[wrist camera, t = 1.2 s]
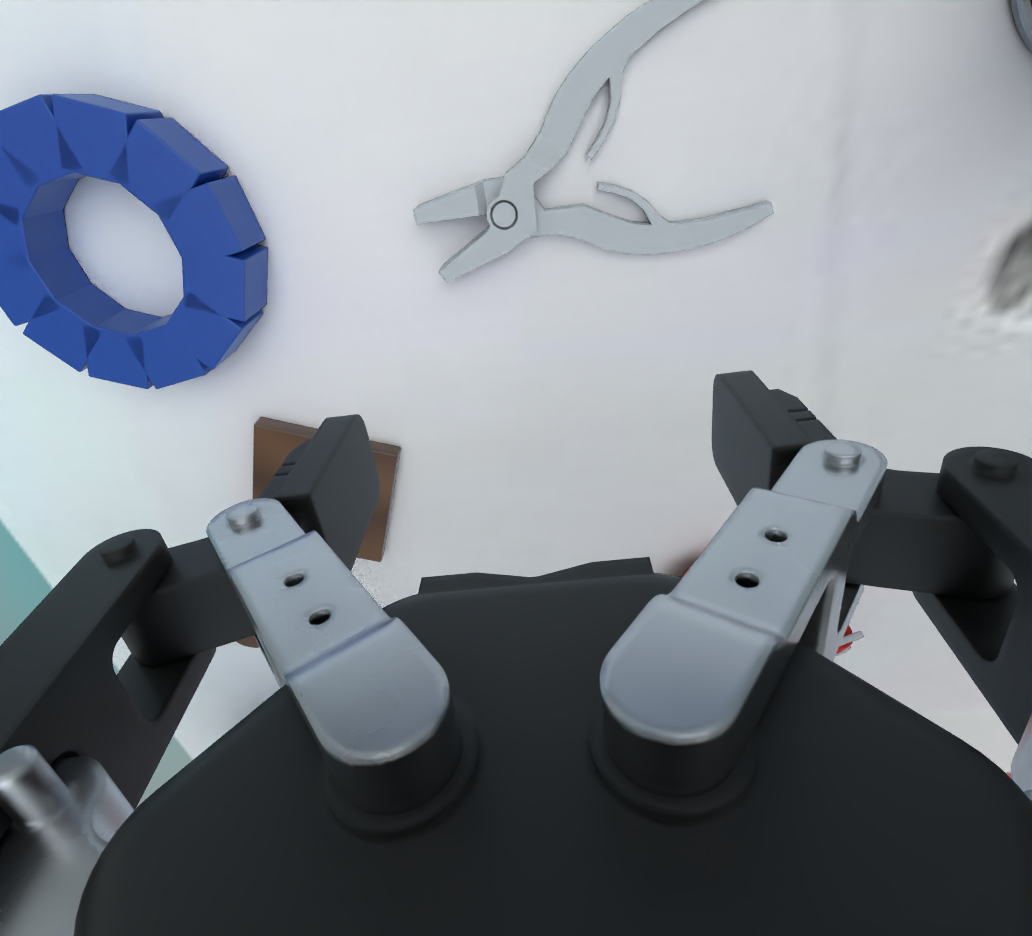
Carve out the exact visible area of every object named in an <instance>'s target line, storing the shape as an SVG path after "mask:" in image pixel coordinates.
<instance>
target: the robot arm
mask: <svg viewBox="0 0 1032 936" xmlns="http://www.w3.org/2000/svg"><path fill="white" fill-rule="evenodd" d="M1011 7H1012V12H1013V16H1014V21H1015V23H1016V26H1017V29H1018V32H1019V33H1020V35H1021V37H1022V39H1023V41H1024V43H1025V44H1026V45H1027V47H1028V48H1029V50H1030V51H1031V52H1032V0H1011ZM712 450H713V457H714V461H715V464H716V466H717V468H718V470H719V472H720V474H721V476H722V478H723V479H724V481H725V483H726V485H727V487H728V489H729V491H730V493H731V494H732V496H733V498H734V500H735V502H736V504H737V506H738V507H737V508H736V509H735V511H734V512H733V513H732V514H731V516H730V517H729V518H728V520H727V521H726V522H725V523H724V525H723V526H722V527H721V529H720V530H719V531H718V533H717V534H716V535H715V536H714V538H713V539H712V540H711V542H710V543H709V544H708V545H707V547H706V548H705V549H704V551H703V552H702V553H701V555H700V556H699V557H698V558H697V560H696V561H695V562H694V564H693V565H692V566H691V567H690V569H689V570H688V571H687V573H686V574H685V575H684V577H683V578H681V577H677V576H672V575H666V574H660V573H653V569H652V565H651V562H650V558H649V557H644V558H633V559H622V560H611V561H600V562H591V563H587V564H583V565H580V566H576V567H572V568H568V569H564V570H561V571H557V572H553V573H549V574H546V575H542V576H537V577H521V576H510V575H498V574H486V573H467V574H456V575H445V576H434V577H423V578H422V579H421V583H420V588H419V592H418V594H416V595H412V596H409V597H406V598H404V599H401V600H398V601H396V602H394V603H392V604H390V605H387V606H386V607H384V608H381V607H380V606H379V605H378V603H377V602H376V601H375V600H374V599H373V598H372V596H371V595H370V594H369V593H368V592H367V591H366V589H365V588H364V587H363V586H362V585H361V583H360V582H359V581H358V580H357V579H356V578H355V576H354V575H353V574H352V573H351V570H352V567H353V564H354V562H355V559H356V557H357V554H358V552H359V549H360V547H361V544H362V541H363V539H364V536H365V534H366V531H367V529H368V526H369V524H370V521H371V518H372V516H373V513H374V511H375V508H376V506H377V503H378V501H379V497H380V479H379V474H378V470H377V466H376V463H375V459H374V456H373V452H372V448H371V445H370V441H369V438H368V434H367V430H366V427H365V424H364V421H363V419H362V417H361V416H360V415H358V414H356V415H347V416H339V417H330V418H326V419H325V420H324V421H323V423H322V424H321V426H320V427H319V429H318V430H317V432H316V433H315V435H314V436H313V438H312V439H311V440H307V441H305V442H304V443H302V444H301V445H300V446H298V447H297V448H295V449H294V450H293V451H291V452H290V453H289V455H288V456H287V457H286V459H285V460H284V462H283V463H282V466H281V467H279V469H278V470H277V472H276V473H275V476H273V477H272V479H271V480H270V481H269V483H268V484H267V486H266V487H265V488H264V490H263V491H262V493H261V494H260V496H259V497H258V498H257V499H253V500H248V501H244V502H241V503H238V504H236V505H233V506H231V507H229V508H227V509H225V510H224V511H222V512H221V513H219V514H218V515H217V516H215V517H214V518H213V519H212V520H211V521H210V523H209V524H208V526H207V530H206V532H207V535H208V537H207V538H204V539H201V540H197V541H194V542H190V543H186V544H183V545H179V546H176V547H172V548H167V546H166V544H165V542H164V540H163V538H162V536H161V534H160V533H159V532H158V531H156V530H152V529H139V530H134V531H129V532H126V533H123V534H120V535H117V536H115V537H112V538H110V539H108V540H106V541H104V542H102V543H100V544H99V545H97V546H96V547H94V548H93V549H91V550H90V551H89V552H87V553H86V554H85V555H84V556H83V557H82V558H81V559H80V561H79V562H78V563H77V564H76V565H75V566H74V567H73V568H72V569H71V570H70V571H69V572H68V574H67V575H66V576H65V577H64V578H63V579H62V580H61V581H60V582H59V583H58V584H57V585H56V586H55V588H54V589H53V590H52V591H51V592H50V593H49V594H48V595H47V596H46V597H45V598H44V600H42V602H41V603H40V604H39V605H38V606H37V607H36V608H35V609H34V610H33V611H32V612H31V613H30V615H29V616H28V617H27V618H26V619H25V620H24V621H23V622H22V623H21V624H20V625H19V626H18V627H17V629H16V630H15V631H14V632H13V633H12V634H11V635H10V636H9V637H8V638H7V639H6V641H4V643H3V644H2V645H1V646H0V936H1032V458H1030V457H1028V456H1025V455H1023V454H1020V453H1017V452H1013V451H1009V450H1005V449H999V448H992V447H965V448H960V449H956V450H953V451H951V452H949V453H947V454H946V455H945V456H944V459H943V462H942V466H941V470H940V473H925V472H909V471H898V470H891V469H886V468H887V459H886V457H885V456H884V455H883V454H882V453H881V452H880V451H878V450H877V449H875V448H873V447H871V446H868V445H866V444H862V443H859V442H854V441H848V440H837V439H836V438H835V437H834V436H833V435H832V434H831V433H830V431H829V430H828V429H827V428H826V427H825V426H824V425H823V424H822V423H821V422H820V421H819V420H816V417H815V416H814V415H813V414H812V412H811V411H808V408H807V407H806V406H805V405H804V404H803V403H802V402H801V401H800V400H799V399H798V398H797V397H795V396H793V395H791V394H788V393H786V392H784V391H782V390H779V389H774V390H769V389H768V388H767V387H766V386H765V385H764V384H763V382H762V381H761V380H760V379H759V378H758V377H757V376H756V374H755V373H754V372H753V371H742V372H733V373H724V374H717V375H716V376H715V379H714V384H713V412H712ZM1014 579H1015V580H1016V583H1017V586H1016V585H1015V584H1014ZM864 585H868V586H876V587H884V588H892V589H900V590H908V591H913V595H914V596H915V598H916V600H917V601H918V603H919V604H920V605H921V607H922V608H923V610H924V611H925V613H926V614H927V615H928V617H929V618H930V620H931V621H932V623H933V624H934V625H935V627H936V628H937V630H938V631H939V633H940V634H941V635H942V637H943V638H944V640H945V641H946V643H947V644H948V645H949V647H950V648H951V650H952V651H953V653H954V654H955V655H956V657H957V658H958V660H959V661H960V663H961V664H962V665H963V667H964V668H965V670H966V671H967V673H968V674H969V675H970V677H971V678H972V680H973V681H974V683H975V684H976V685H977V687H978V688H979V690H980V691H981V693H982V694H983V695H984V697H985V698H986V700H987V701H988V703H989V704H990V705H991V707H992V708H993V710H994V711H995V713H996V714H997V715H998V717H999V718H1000V720H1001V721H1002V722H1003V724H1004V725H1005V727H1006V728H1007V730H1008V731H1009V732H1010V734H1011V735H1012V737H1013V738H1014V740H1015V741H1016V742H1017V744H1018V748H1017V750H1016V752H1015V755H1014V757H1013V760H1012V764H1011V775H1012V779H1013V780H1012V779H1011V778H1010V777H1009V776H1008V775H1007V774H1006V773H1005V772H1004V771H1003V770H1002V769H1001V768H1000V767H998V766H997V765H996V764H995V763H993V762H992V761H991V760H990V759H988V758H987V757H986V756H985V755H983V754H982V753H981V752H979V751H978V750H976V749H975V748H973V747H972V746H970V745H969V744H967V743H966V742H964V741H963V740H961V739H960V738H958V737H956V736H955V735H953V734H951V733H950V732H948V731H946V730H945V729H943V728H941V727H940V726H938V725H937V724H935V723H933V722H932V721H930V720H928V719H927V718H925V717H923V716H922V715H920V714H918V713H917V712H915V711H913V710H912V709H910V708H908V707H907V706H905V705H903V704H902V703H900V702H899V701H897V700H895V699H894V698H892V697H890V696H889V695H887V694H885V693H884V692H882V691H880V690H879V689H877V688H875V687H874V686H872V685H870V684H869V683H867V682H865V681H864V680H862V679H861V678H859V677H857V676H856V675H854V674H852V673H851V672H849V671H847V670H846V669H844V668H842V667H841V666H839V665H837V664H836V663H834V662H833V661H834V658H835V655H836V652H837V650H838V648H839V645H840V643H841V641H842V639H843V636H844V634H845V632H846V629H847V627H848V625H849V622H850V620H851V618H852V615H853V613H854V611H855V609H856V606H857V604H858V602H859V599H860V597H861V595H862V592H863V588H864ZM250 636H254V637H255V639H256V641H257V643H258V645H259V647H260V649H261V651H262V653H263V655H264V657H265V659H266V661H267V663H268V665H269V667H270V669H271V671H272V673H273V674H274V676H275V678H276V680H277V682H278V684H279V686H280V689H279V690H278V691H277V692H275V693H274V694H273V695H272V696H271V697H269V698H268V699H267V700H266V701H265V702H263V703H262V704H261V705H260V706H258V707H257V708H256V709H255V710H254V711H252V712H251V713H250V714H249V715H247V716H246V717H245V718H244V719H243V720H241V721H240V722H239V723H238V724H237V725H235V726H234V727H233V728H232V729H230V730H229V731H228V732H227V733H226V734H224V735H223V736H222V737H221V738H219V739H218V740H217V741H216V742H215V743H213V744H212V745H211V746H210V747H208V748H207V749H206V750H205V751H204V752H202V753H201V754H200V755H199V756H198V757H196V758H195V759H194V760H193V761H191V762H190V763H189V764H188V765H187V766H185V767H184V768H183V769H182V770H180V771H179V772H178V773H177V774H176V775H174V776H173V777H172V778H171V779H170V780H168V781H167V782H166V783H165V784H163V785H162V786H161V787H160V788H159V789H157V790H156V791H155V792H154V793H153V794H152V795H150V796H149V797H148V798H147V799H146V800H145V801H144V802H142V803H141V804H140V805H139V806H138V807H137V805H138V803H139V801H140V799H141V797H142V795H143V793H144V791H145V789H146V787H147V785H148V783H149V781H150V780H151V778H152V775H153V774H154V772H155V770H156V768H157V766H158V764H159V762H160V760H161V758H162V756H163V754H164V752H165V750H166V748H167V746H168V744H169V742H170V740H171V738H172V736H173V735H174V733H175V731H176V729H177V727H178V725H179V723H180V721H181V719H182V717H183V715H184V713H185V711H186V709H187V707H188V705H189V703H190V701H191V699H192V697H193V695H194V693H195V691H196V689H197V688H198V686H199V684H200V682H201V680H202V678H203V676H204V674H205V672H206V670H207V668H208V666H209V664H210V662H211V660H212V658H213V656H214V654H215V651H216V647H219V646H222V645H225V644H228V643H231V642H235V641H238V640H241V639H244V638H247V637H250ZM120 637H122V638H123V640H124V642H125V643H126V645H127V647H128V648H129V650H130V652H131V655H130V656H129V658H128V659H127V661H126V662H125V664H124V665H123V667H122V668H121V670H120V671H119V673H118V674H117V675H116V674H115V672H114V669H113V663H112V657H113V651H114V648H115V645H116V643H117V642H118V640H119V639H120ZM136 807H137V808H136Z"/></svg>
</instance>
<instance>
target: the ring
mask: <svg viewBox="0 0 1032 936" xmlns="http://www.w3.org/2000/svg"><path fill="white" fill-rule="evenodd" d="M227 168H228V166H227V165H226V164H225V163H223V162H222V161H221V160H220V159H219V158H218V157H216V156H215V155H214V154H213V153H212V152H211V151H209V150H208V149H207V148H206V147H205V146H204V145H203V144H201V143H200V142H199V141H198V140H197V139H196V138H194V137H193V136H192V135H191V134H190V133H189V132H187V131H186V130H185V129H184V128H183V127H182V126H181V125H179V124H178V123H177V122H176V121H175V120H174V119H172V118H162V117H161V112H160V111H157V110H153V109H149V108H146V107H142V106H138V105H134V104H130V103H126V102H123V101H119V100H115V99H111V98H107V97H103V96H99V95H96V94H52V95H37V96H35V97H32V98H30V99H28V100H25V101H23V102H20V103H18V104H15V105H13V106H10V107H8V108H5V109H3V110H1V111H0V307H1V308H2V309H3V311H4V312H5V313H6V315H7V316H8V318H9V319H10V320H11V322H12V323H13V324H14V325H15V326H18V325H21V324H24V323H27V322H28V324H27V326H26V328H25V330H24V332H23V334H24V335H25V336H27V337H28V338H30V339H31V340H33V341H34V342H36V343H37V344H39V345H40V346H42V347H43V348H45V349H46V350H47V351H49V352H50V353H52V354H53V355H55V356H56V357H58V358H59V359H61V360H62V361H64V362H65V363H67V364H68V365H70V366H71V367H73V368H74V369H76V370H77V371H79V372H81V371H83V370H85V369H86V368H88V374H89V376H90V377H94V378H99V379H103V380H108V381H112V382H117V383H122V384H126V385H131V386H135V387H140V388H145V389H149V388H150V387H152V386H153V385H154V386H155V388H156V389H159V388H163V387H166V386H169V385H173V384H176V383H179V382H183V381H186V380H190V379H193V378H196V377H200V376H203V375H206V374H207V373H208V372H210V371H211V370H213V369H214V368H216V367H217V366H218V365H219V364H220V363H222V362H223V361H224V360H225V359H226V358H227V357H229V356H230V355H231V354H232V353H233V352H235V351H236V350H237V348H238V347H239V346H240V344H241V343H242V342H243V340H244V339H245V337H246V336H247V335H248V333H249V332H250V331H251V329H252V328H253V327H254V325H255V324H256V323H257V321H258V320H259V319H260V317H261V316H262V314H263V311H262V310H260V309H261V308H263V307H264V306H265V305H266V302H267V263H268V248H267V247H263V246H259V245H255V244H257V243H259V242H261V241H262V240H264V239H265V236H264V234H263V232H262V230H261V228H260V225H259V223H258V221H257V219H256V217H255V215H254V213H253V211H252V209H251V207H250V205H249V203H248V201H247V198H246V196H245V194H244V192H243V190H242V188H241V186H240V184H239V182H238V180H237V178H236V176H231V177H227V178H223V179H221V178H222V177H223V175H224V173H225V172H226V170H227ZM85 176H90V177H94V178H99V179H103V180H107V181H111V182H115V183H119V184H121V185H122V186H123V187H124V188H126V189H127V190H128V191H129V192H131V193H132V194H133V195H134V196H136V197H137V198H138V199H139V200H141V201H142V202H143V203H144V204H146V205H147V206H148V207H149V208H151V209H152V210H153V211H154V212H156V213H157V214H158V215H159V217H160V219H161V220H162V222H163V224H164V226H165V228H166V229H167V231H168V233H169V235H170V237H171V238H172V240H173V242H174V244H175V246H176V247H177V249H178V251H179V253H180V255H181V256H182V267H183V290H184V297H183V299H182V300H181V302H180V303H179V305H178V307H177V308H176V310H175V311H174V313H173V314H171V315H168V316H165V317H158V316H153V315H149V314H145V313H140V312H136V311H132V310H127V309H125V308H124V307H122V306H121V305H120V304H118V303H117V302H115V301H114V300H113V299H111V298H110V297H109V296H107V295H106V294H104V293H103V292H102V291H100V290H99V289H98V288H96V287H95V286H94V285H92V284H91V282H90V281H89V279H88V278H87V276H86V274H85V273H84V271H83V270H82V268H81V267H80V265H79V263H78V262H77V260H76V259H75V257H74V256H73V254H72V253H71V251H70V249H69V248H68V240H67V233H66V226H65V218H64V211H63V208H64V206H65V204H66V202H67V200H68V198H69V196H70V195H71V193H72V191H73V189H74V187H75V185H76V183H77V181H78V179H80V178H82V177H85Z"/></svg>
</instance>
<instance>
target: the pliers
mask: <svg viewBox="0 0 1032 936" xmlns="http://www.w3.org/2000/svg"><path fill="white" fill-rule="evenodd" d="M701 1H702V0H650V1H648V2H647V3H645V4H644V5H642V6H641V7H639V8H638V9H636V10H635V11H633V12H632V13H630V14H629V15H627V16H626V17H625V18H624V19H623V20H621V21H620V22H619V23H618V24H617V25H616V26H614V27H613V28H612V29H611V30H610V31H608V32H607V33H606V34H605V35H604V36H603V37H602V38H601V39H600V40H599V41H598V42H597V43H596V44H595V45H594V46H593V47H592V48H591V49H590V50H589V51H588V52H587V53H586V54H585V55H584V56H583V58H582V59H581V60H580V61H579V62H578V64H577V65H576V66H575V67H574V68H573V70H572V71H571V72H570V73H569V74H568V76H567V78H566V79H565V81H564V82H563V84H562V86H561V87H560V89H559V90H558V92H557V93H556V95H555V97H554V98H553V101H552V103H551V106H550V109H549V111H548V114H547V116H546V119H545V121H544V124H543V127H542V129H541V132H540V133H539V135H538V136H537V138H536V139H535V141H534V142H533V144H532V145H531V147H530V149H529V150H528V152H527V153H526V155H525V156H524V157H523V158H522V159H521V160H520V161H519V162H517V163H516V164H515V165H514V166H513V167H512V168H511V169H510V170H508V171H507V172H506V174H505V177H499V178H492V179H485V180H482V181H479V182H477V183H474V184H472V185H469V186H467V187H464V188H461V189H459V190H456V191H454V192H451V193H448V194H446V195H443V196H441V197H438V198H436V199H433V200H430V201H428V202H425V203H423V204H420V205H418V206H417V207H416V208H415V209H414V210H413V211H414V216H415V221H416V224H422V223H429V222H436V221H443V220H451V219H458V218H465V217H472V216H479V215H486V214H487V221H488V223H489V225H490V226H489V227H488V228H487V229H485V230H484V231H483V232H482V233H481V234H479V235H478V236H477V237H476V238H475V239H473V240H472V241H471V242H470V243H469V244H467V245H466V246H465V247H464V248H463V249H461V250H460V251H459V252H458V253H456V254H455V255H454V256H453V257H452V258H450V259H449V260H448V261H447V262H446V263H444V264H443V265H442V267H441V269H440V271H439V274H440V275H441V276H442V278H443V279H444V280H445V281H446V283H448V282H450V281H452V280H454V279H456V278H458V277H460V276H462V275H464V274H466V273H468V272H470V271H472V270H474V269H476V268H478V267H480V266H482V265H484V264H486V263H488V262H490V261H492V260H494V259H496V258H498V257H500V256H502V255H504V254H506V253H508V252H510V251H511V250H512V249H513V248H515V247H516V246H517V245H518V244H520V243H521V242H522V241H523V240H525V239H526V238H527V237H528V236H530V237H536V236H543V235H549V234H556V235H562V236H567V237H573V238H578V239H581V240H583V241H585V242H588V243H590V244H592V245H594V246H597V247H599V248H601V249H604V250H608V251H614V252H620V253H625V254H659V253H670V252H677V251H683V250H690V249H693V248H697V247H701V246H704V245H708V244H711V243H714V242H717V241H720V240H722V239H725V238H728V237H730V236H733V235H735V234H737V233H739V232H741V231H743V230H745V229H747V228H749V227H751V226H753V225H754V224H756V223H758V222H760V221H761V220H763V219H765V218H767V217H768V216H770V215H772V214H773V213H774V212H773V207H772V203H771V202H769V201H764V202H761V203H757V204H754V205H751V206H748V207H745V208H741V209H737V210H733V211H729V212H725V213H722V214H717V215H713V216H709V217H705V218H698V219H691V220H683V221H674V222H669V221H668V220H666V219H664V218H663V217H661V216H660V215H659V214H658V213H657V211H656V210H655V209H654V208H653V207H652V206H651V205H650V204H649V202H647V201H646V200H645V199H643V198H642V197H640V196H639V195H638V194H636V193H635V192H633V191H632V190H629V189H626V188H623V187H620V186H617V185H613V184H608V183H602V182H597V189H598V190H602V191H607V192H612V193H615V194H618V195H621V196H624V197H626V198H629V199H631V200H632V201H633V202H635V203H636V204H637V205H638V206H640V207H641V208H642V209H643V211H644V213H645V214H646V216H647V218H648V220H649V221H650V223H646V222H633V221H629V220H626V219H623V218H620V217H616V216H613V215H611V214H608V213H605V212H603V211H600V210H598V209H595V208H593V207H590V206H588V205H585V204H577V205H570V206H562V207H555V208H548V209H544V208H543V207H542V205H541V204H540V203H539V201H538V200H537V199H536V197H535V196H534V183H535V182H536V181H538V180H539V179H540V178H541V177H542V176H544V175H545V174H546V173H547V172H548V171H549V170H551V169H552V168H553V167H554V166H555V165H556V164H557V163H558V162H559V161H560V160H561V159H562V158H563V157H564V156H565V155H566V154H567V152H568V149H569V147H570V145H571V143H572V141H573V139H574V136H575V134H576V132H577V130H578V128H579V125H580V123H581V121H582V119H583V117H584V115H585V113H586V111H587V109H588V107H589V105H590V103H591V101H592V99H593V98H594V96H595V94H596V93H597V92H598V91H599V89H600V88H601V87H602V86H603V84H604V83H605V82H606V81H607V79H608V83H609V96H610V102H609V106H608V110H607V115H606V119H605V122H604V124H603V126H602V128H601V130H600V132H599V134H598V136H597V138H596V140H595V141H594V143H593V144H592V146H591V147H590V149H589V150H588V152H587V153H586V155H587V156H588V157H589V158H590V159H592V158H593V156H594V155H595V153H596V152H597V151H598V149H599V148H600V146H601V145H602V144H603V142H604V140H605V138H606V136H607V135H608V133H609V131H610V129H611V127H612V125H613V123H614V119H615V116H616V112H617V109H618V106H619V102H620V94H621V83H622V74H623V71H624V68H625V64H626V61H627V58H629V57H630V56H631V55H632V54H633V53H634V52H635V51H636V50H637V49H639V48H640V47H641V46H642V45H643V44H644V43H645V42H646V41H648V40H649V39H650V38H651V37H652V36H654V35H655V34H656V33H657V32H658V31H659V30H661V29H662V28H663V27H664V26H666V25H667V24H669V23H670V22H672V21H673V20H674V19H676V18H677V17H679V16H680V15H682V14H683V13H685V12H686V11H687V10H689V9H690V8H692V7H693V6H695V5H696V4H698V3H699V2H701Z"/></svg>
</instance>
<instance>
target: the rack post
mask: <svg viewBox="0 0 1032 936" xmlns="http://www.w3.org/2000/svg"><path fill="white" fill-rule="evenodd" d="M317 430H318V429H313V428H309V427H304V426H300V425H295V424H290V423H286V422H281V421H277V420H272V419H268V418H263V417H260V418H259V420H258V421H257V422H256V423H255V424H254V456H253V499H257V498H258V497H259V496H260V494H261V493H262V491H263V490H264V488H265V487H266V486H267V484H268V483H269V481H270V480H271V479H272V477H273V476H275V473H276V472H277V470H278V469H279V467H281V466H282V463H283V462H284V460H285V459H286V457H287V456H288V455H289V453H290V452H291V451H293V450H294V449H295V448H297V447H298V446H300V445H301V444H302V443H304V442H305V441H307V440H311V439H312V438H313V436H314V435H315V433H316V432H317ZM370 445H371V448H372V452H373V456H374V459H375V463H376V466H377V470H378V474H379V479H380V497H379V501H378V503H377V506H376V508H375V511H374V513H373V516H372V518H371V521H370V524H369V526H368V529H367V531H366V534H365V536H364V539H363V541H362V544H361V547H360V549H359V552H358V554H357V558H362V559H367V560H372V561H377V562H381V560H382V557H383V554H384V550H385V543H386V537H387V531H388V524H389V518H390V512H391V506H392V499H393V493H394V487H395V481H396V474H397V468H398V462H399V456H400V447H396V446H391V445H387V444H382V443H378V442H373V441H370ZM236 642H238V643H240V644H242V645H244V646H248V647H255V648H258V647H259V645H258V643H257V641H256V639H255V637H254V636H250V637H247V638H244V639H241V640H238V641H236Z"/></svg>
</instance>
